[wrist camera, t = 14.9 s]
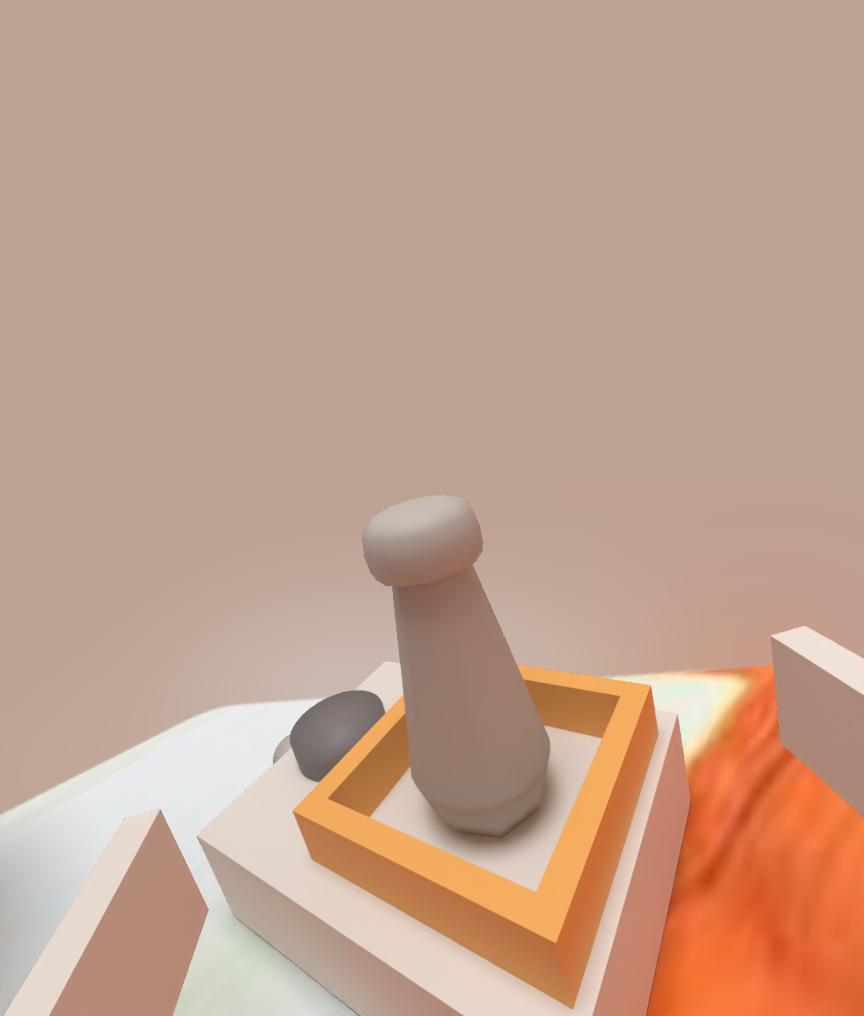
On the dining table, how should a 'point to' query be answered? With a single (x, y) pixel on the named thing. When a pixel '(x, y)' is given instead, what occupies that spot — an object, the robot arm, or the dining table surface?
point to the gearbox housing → (464, 860)
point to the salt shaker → (457, 670)
